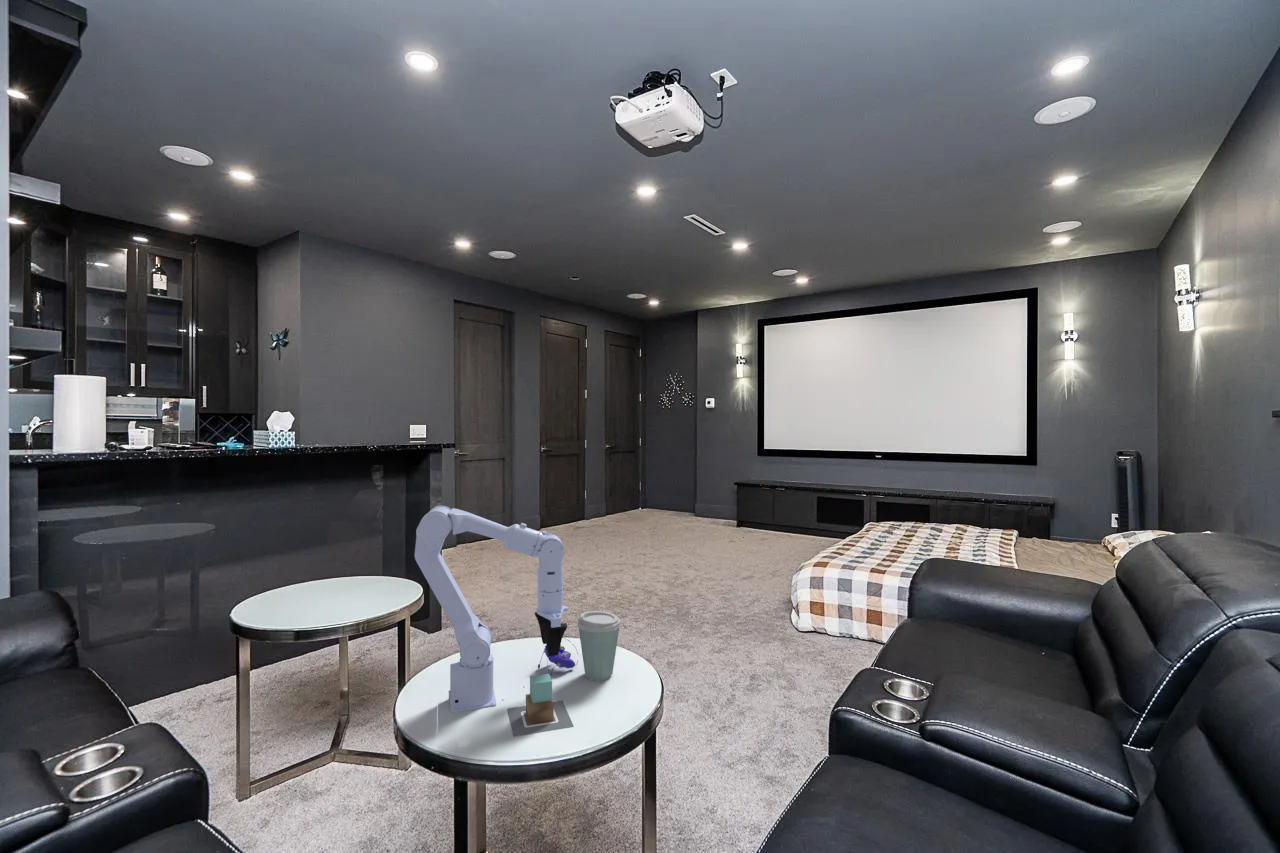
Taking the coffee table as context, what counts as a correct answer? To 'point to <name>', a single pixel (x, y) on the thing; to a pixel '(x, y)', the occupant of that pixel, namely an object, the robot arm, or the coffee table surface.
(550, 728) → the mat
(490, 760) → the coffee table surface
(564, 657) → the game controller
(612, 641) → the disposable coffee cup
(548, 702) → the walnut block
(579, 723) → the coffee table surface
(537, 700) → the teal cube
